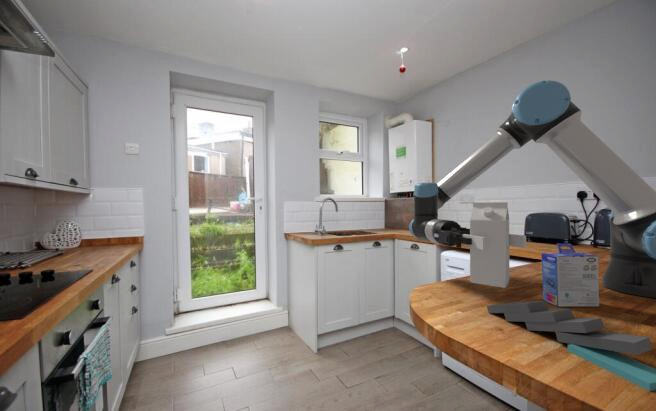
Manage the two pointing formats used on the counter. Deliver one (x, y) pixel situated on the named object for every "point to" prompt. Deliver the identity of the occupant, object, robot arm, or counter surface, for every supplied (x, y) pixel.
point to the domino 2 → (541, 316)
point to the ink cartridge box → (570, 278)
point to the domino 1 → (518, 307)
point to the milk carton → (490, 244)
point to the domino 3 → (568, 325)
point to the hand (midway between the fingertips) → (504, 242)
